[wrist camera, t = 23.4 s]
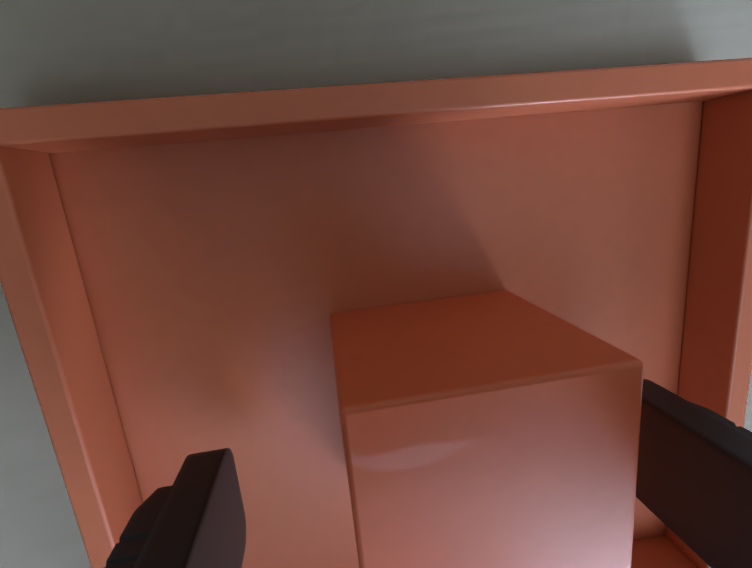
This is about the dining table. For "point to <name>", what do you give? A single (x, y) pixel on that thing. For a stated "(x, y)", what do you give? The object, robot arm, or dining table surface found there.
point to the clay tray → (357, 264)
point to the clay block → (486, 436)
